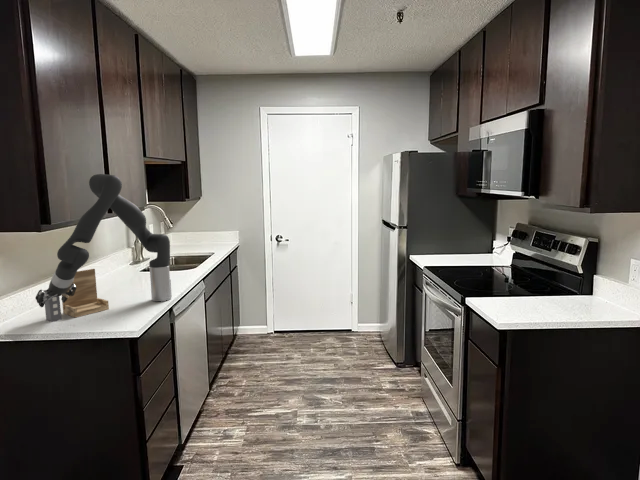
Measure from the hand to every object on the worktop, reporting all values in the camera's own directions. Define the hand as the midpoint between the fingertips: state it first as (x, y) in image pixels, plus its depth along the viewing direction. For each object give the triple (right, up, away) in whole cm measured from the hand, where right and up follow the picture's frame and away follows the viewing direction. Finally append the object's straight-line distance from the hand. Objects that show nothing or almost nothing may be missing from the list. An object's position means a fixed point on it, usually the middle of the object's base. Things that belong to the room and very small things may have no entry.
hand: (52, 303), depth 180 cm
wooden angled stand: (+8, -6, +12) cm, 16 cm away
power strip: (0, -7, +1) cm, 7 cm away
